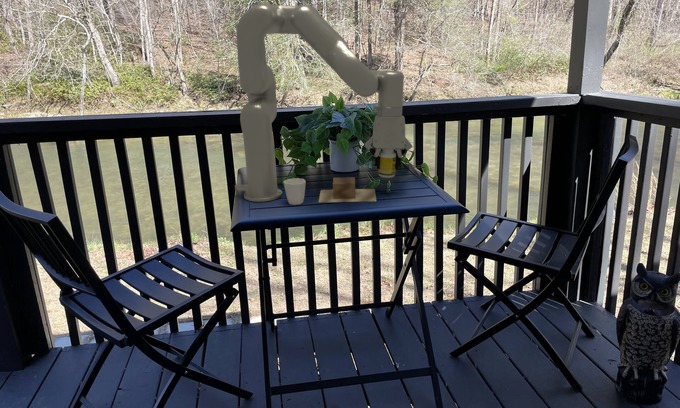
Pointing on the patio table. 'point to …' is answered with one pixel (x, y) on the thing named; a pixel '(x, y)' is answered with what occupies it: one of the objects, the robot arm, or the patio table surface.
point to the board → (360, 196)
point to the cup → (295, 190)
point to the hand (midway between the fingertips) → (387, 167)
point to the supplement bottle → (387, 163)
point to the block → (344, 188)
